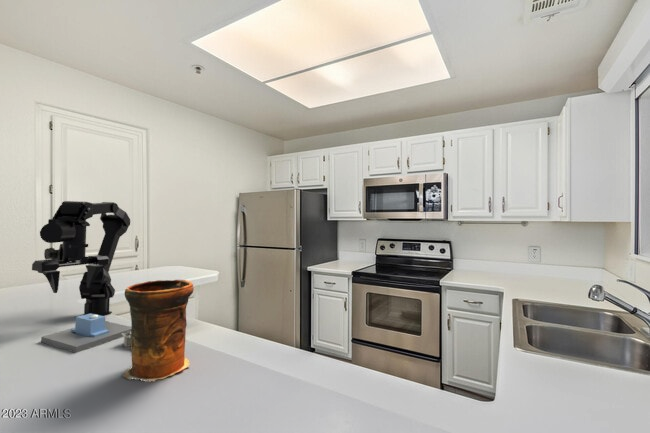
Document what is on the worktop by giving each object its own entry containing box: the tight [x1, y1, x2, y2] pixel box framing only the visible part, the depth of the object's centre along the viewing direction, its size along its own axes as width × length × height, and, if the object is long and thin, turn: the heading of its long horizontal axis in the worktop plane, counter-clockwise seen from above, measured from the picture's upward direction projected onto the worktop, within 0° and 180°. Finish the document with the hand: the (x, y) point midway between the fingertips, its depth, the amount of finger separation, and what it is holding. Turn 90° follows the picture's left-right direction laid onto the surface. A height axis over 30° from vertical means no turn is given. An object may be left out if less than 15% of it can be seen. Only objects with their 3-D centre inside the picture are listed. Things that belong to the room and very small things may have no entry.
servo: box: [70, 313, 110, 338], centre depth 90 cm, size 4×11×7 cm, turn 68°
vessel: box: [122, 279, 195, 383], centre depth 73 cm, size 14×14×20 cm
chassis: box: [40, 320, 132, 353], centre depth 90 cm, size 16×16×2 cm
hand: (72, 290), depth 97 cm, fingers open, 9 cm apart
